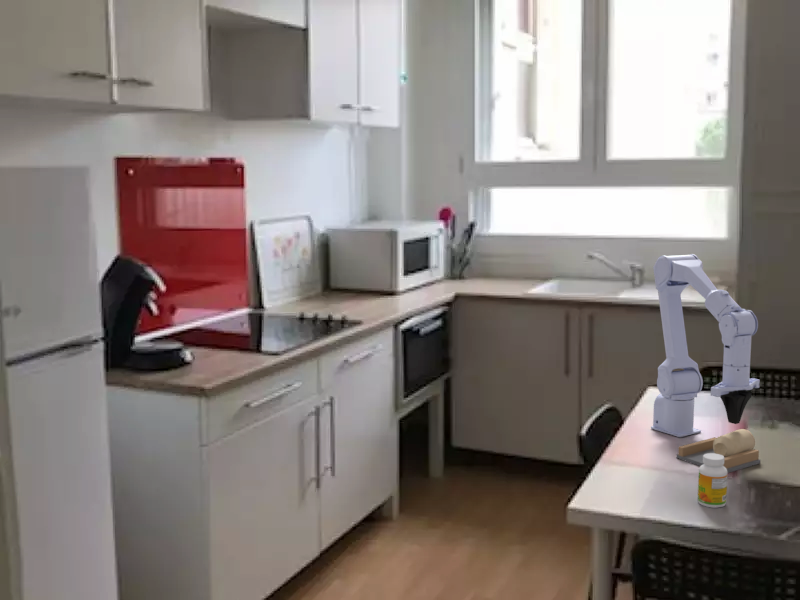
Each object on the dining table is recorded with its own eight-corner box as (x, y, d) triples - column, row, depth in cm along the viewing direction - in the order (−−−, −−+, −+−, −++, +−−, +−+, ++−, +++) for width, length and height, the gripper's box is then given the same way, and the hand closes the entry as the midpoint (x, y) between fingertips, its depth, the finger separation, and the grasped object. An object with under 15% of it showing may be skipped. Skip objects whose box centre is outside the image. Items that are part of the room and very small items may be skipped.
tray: (676, 458, 211) (676, 446, 210) (712, 448, 217) (712, 436, 217) (723, 474, 200) (724, 461, 199) (760, 463, 206) (760, 451, 206)
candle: (759, 449, 209) (735, 459, 202) (738, 454, 213) (714, 464, 207) (750, 426, 210) (725, 435, 204) (730, 431, 214) (705, 440, 208)
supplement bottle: (693, 498, 186) (694, 452, 184) (719, 497, 186) (721, 451, 185) (704, 508, 181) (706, 461, 179) (730, 507, 181) (732, 460, 180)
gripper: (730, 372, 201) (727, 432, 203) (772, 363, 208) (769, 421, 211) (704, 366, 207) (701, 424, 209) (745, 357, 214) (742, 414, 216)
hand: (733, 422), depth 210 cm, fingers closed
